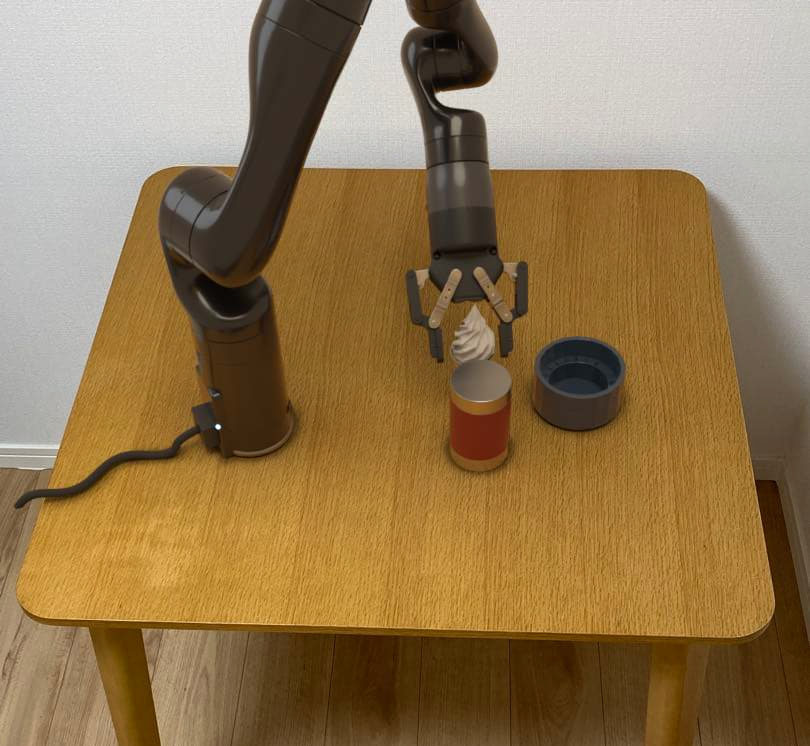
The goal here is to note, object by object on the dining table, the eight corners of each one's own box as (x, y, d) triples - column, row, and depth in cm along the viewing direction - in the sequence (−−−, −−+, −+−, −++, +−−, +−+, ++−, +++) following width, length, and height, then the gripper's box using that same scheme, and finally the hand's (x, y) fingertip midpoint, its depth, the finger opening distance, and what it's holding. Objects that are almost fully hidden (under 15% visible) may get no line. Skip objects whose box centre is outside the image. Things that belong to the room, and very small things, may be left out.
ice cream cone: (488, 418, 139) (493, 321, 127) (446, 413, 140) (446, 315, 128) (495, 388, 142) (500, 290, 130) (453, 383, 143) (454, 285, 131)
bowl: (559, 443, 136) (563, 409, 132) (516, 387, 142) (518, 352, 138) (637, 414, 139) (643, 380, 134) (591, 360, 145) (595, 325, 140)
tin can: (466, 480, 133) (467, 410, 124) (439, 441, 137) (438, 370, 128) (518, 460, 135) (523, 389, 126) (491, 422, 139) (493, 351, 130)
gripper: (397, 209, 128) (410, 364, 129) (530, 198, 128) (541, 353, 130) (395, 220, 135) (407, 367, 137) (520, 210, 136) (531, 356, 137)
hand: (472, 359), depth 133 cm, fingers open, 6 cm apart
